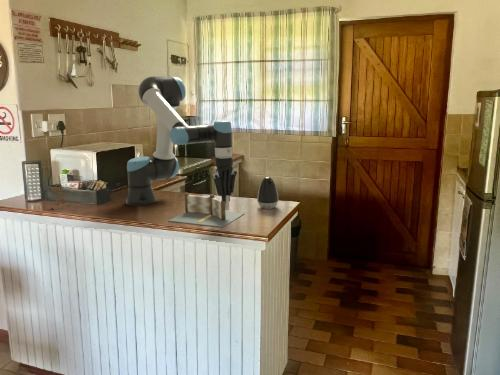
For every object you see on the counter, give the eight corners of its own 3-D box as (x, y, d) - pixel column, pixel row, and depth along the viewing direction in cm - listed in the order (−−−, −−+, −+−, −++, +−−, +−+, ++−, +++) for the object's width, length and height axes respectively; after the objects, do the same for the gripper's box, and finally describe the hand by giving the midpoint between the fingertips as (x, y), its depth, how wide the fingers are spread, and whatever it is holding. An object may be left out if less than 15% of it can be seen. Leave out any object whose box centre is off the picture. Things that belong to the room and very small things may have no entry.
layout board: (168, 221, 188) (167, 220, 188) (193, 209, 208) (193, 208, 208) (222, 227, 178) (222, 226, 178) (244, 214, 197) (244, 213, 197)
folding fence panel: (212, 214, 195) (211, 197, 193) (215, 213, 196) (215, 196, 194) (222, 219, 186) (222, 202, 184) (226, 219, 187) (225, 201, 185)
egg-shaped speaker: (261, 211, 202) (260, 179, 199) (254, 206, 212) (254, 175, 208) (281, 209, 204) (281, 178, 201) (274, 204, 214) (274, 174, 211)
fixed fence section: (184, 212, 201) (183, 193, 199) (187, 210, 204) (186, 192, 202) (213, 215, 195) (212, 195, 193) (216, 213, 198) (215, 194, 196)
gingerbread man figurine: (66, 205, 221) (63, 182, 219) (71, 206, 219) (68, 183, 217) (50, 209, 214) (47, 185, 211) (55, 210, 212) (52, 186, 209)
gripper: (218, 159, 178) (220, 214, 183) (240, 155, 187) (242, 208, 192) (206, 158, 184) (209, 211, 189) (229, 154, 192) (231, 205, 197)
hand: (226, 209), depth 190 cm, fingers closed
